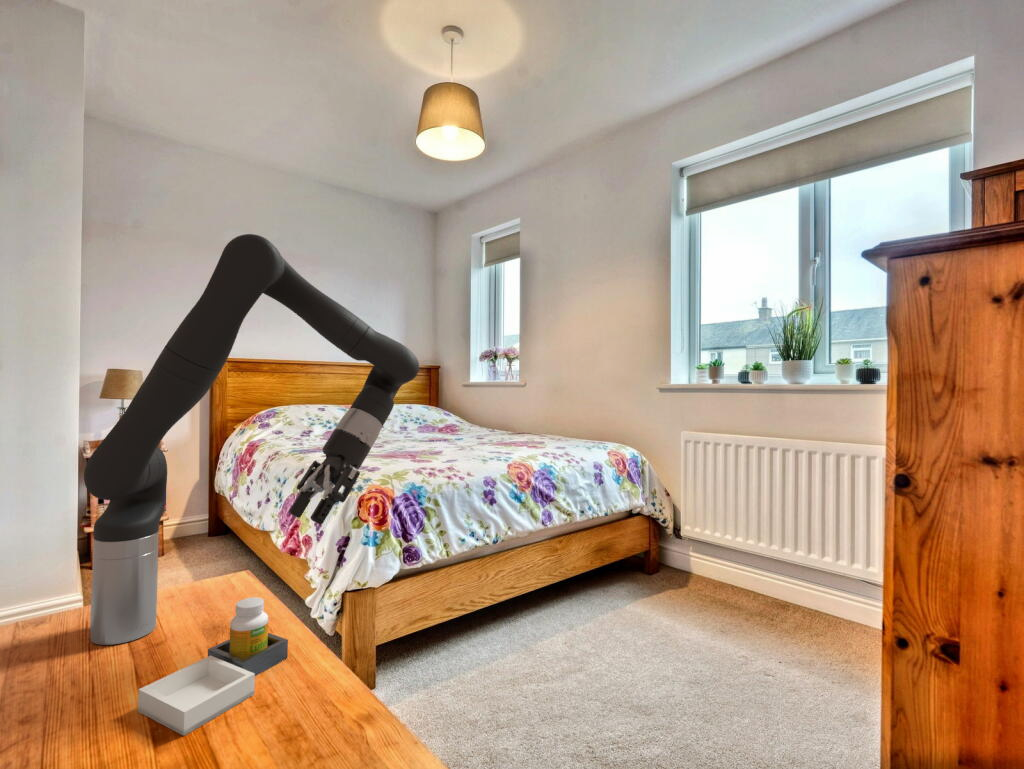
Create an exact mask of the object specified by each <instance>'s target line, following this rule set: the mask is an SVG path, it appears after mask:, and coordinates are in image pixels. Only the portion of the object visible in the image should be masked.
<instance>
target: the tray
mask: <svg viewBox="0 0 1024 769" xmlns="http://www.w3.org/2000/svg"><path fill="white" fill-rule="evenodd" d="M255 681H256V676H255V673H252V672H250V671H247V670H245V669H242V668H240V667H237V666H235V665H233V664H230V663H228V662H225V661H223V660H220V659H218V658H215V657H213V656H211V655H210V656H208V655H207V656H206V657H204V658H202V659H200V660H198V661H196V662H194V663H191V664H189V665H187V666H185V667H183V668H181V669H179V670H176V671H175V672H172V673H170V674H168V675H166V676H164V677H162V678H160V679H158V680H156V681H154V682H151V683H150V684H147V685H145V686H142V687H141V688H138V700H137V702H138V703H137V704H138V705H137V707H138V708H137V712H138V713H140V714H142V715H144V716H146V717H148V718H149V719H151V720H152V721H155V722H157V723H158V724H160V725H162V726H165V727H166V728H168V729H170V730H171V731H173V732H176V733H177V734H179V735H181V736H183V737H184V736H187V735H189V733H191V732H194V730H196V729H198V728H200V727H202V726H203V725H205V724H207V723H209V722H211V721H212V720H214V719H215V718H217V717H219V716H221V715H222V714H224V713H225V712H227V711H229V710H230V709H233V708H234V707H236V706H237V705H239V704H240V703H241V704H242V702H244V701H246V700H248V699H249V698H251V697H252V696H254V695H255V685H256V682H255Z"/></svg>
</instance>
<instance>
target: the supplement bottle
mask: <svg viewBox="0 0 1024 769" xmlns="http://www.w3.org/2000/svg"><path fill="white" fill-rule="evenodd" d="M264 608H265V601H264V599H263V598H261V597H255V596H254V597H247V598H244V599H241V600H239V601H237V602H236V604H235V616H233V618H231V620H230V628H229V639H230V652H229V654H232V655H234V656H237V657H240V658H242V659H245V658H247V657H249V656H251V655H253V654H255V653H257V652H259V651H261V650H263V649H265V648H267V643H268V633H269V616H268V614H267V613H266V611H264V610H265V609H264Z"/></svg>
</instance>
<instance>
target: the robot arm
mask: <svg viewBox="0 0 1024 769" xmlns="http://www.w3.org/2000/svg"><path fill="white" fill-rule="evenodd" d="M262 294H264V295H266V296H267V297H270V298H271V299H273V300H275V301H277V302H278V303H279V304H281V305H283V306H284V307H286V308H288V309H289V310H290V311H292V312H293V313H295V315H297V316H298V317H299V318H301V319H302V320H303V321H304V322H306V324H308V325H309V326H310V327H311V328H312V329H313V330H314V331H316V332H317V333H318V334H319V335H320V336H321V337H323V338H324V339H326V341H327V342H330V343H331V344H332V345H333V346H335V347H336V348H337V349H339V350H340V351H342V352H343V353H344V354H346V355H347V356H348V357H350V358H352V360H355V361H358V362H359V361H361V362H362V361H365V362H368V363H369V364H371V365H372V368H371V370H370V371H369V373H368V375H367V378H366V380H365V382H364V384H363V387H362V389H361V391H359V394H357V396H356V398H354V401H353V402H352V404H351V405H350V407H349V409H348V410H347V412H345V413H344V414H343V416H342V417H341V419H340V420H339V422H338V423H337V425H336V426H335V428H334V429H333V431H332V433H331V434H330V436H329V437H328V439H327V440H326V442H325V443H324V445H323V447H322V452H323V454H324V455H325V458H324V460H323V461H322V462H319V461H317V460H314V461H313V462H312V463H311V464H310V466H309V467H308V469H307V471H306V472H305V473H304V475H303V477H302V478H301V480H300V481H299V483H297V485H296V489H297V490H299V491H298V493H299V494H298V495H297V497H296V499H295V500H294V502H293V504H292V505H291V507H290V508H289V510H288V513H289V514H290V516H291V515H292V516H293V517H295V518H297V519H298V518H301V517H302V516H303V514H304V512H305V511H306V509H307V507H308V506H309V504H310V502H311V501H312V499H313V498H314V497H315V496H316V495H317V494H318V493H323V498H321V499H320V501H319V502H318V503H317V505H316V507H315V509H314V511H313V512H312V514H311V516H310V520H311V521H312V522H314V523H316V524H318V525H323V524H324V522H325V520H326V519H327V517H328V515H329V514H330V512H331V510H332V509H333V507H334V506H335V505H337V504H338V503H344V502H346V500H347V498H348V497H349V494H350V493H351V491H352V489H353V488H354V485H355V483H356V482H357V480H358V478H359V476H360V475H361V471H360V470H359V469H360V468H361V467H362V465H363V464H364V462H365V460H366V458H367V456H369V453H370V452H371V450H372V448H373V446H374V444H375V442H376V441H377V439H378V437H379V435H380V433H381V431H382V428H383V426H384V425H385V423H386V421H387V420H388V418H389V417H390V414H391V413H392V411H393V408H394V405H395V401H394V399H395V397H396V395H397V393H398V391H399V390H400V389H401V387H402V386H403V385H405V384H407V383H410V382H411V381H412V380H414V379H415V378H416V377H417V376H418V374H419V372H420V362H419V360H418V358H417V356H416V355H415V354H414V352H413V351H412V350H411V349H409V348H408V347H407V346H406V345H404V344H402V343H400V342H399V341H396V340H395V339H393V338H391V337H389V336H387V335H385V334H384V333H383V334H382V333H381V332H378V331H377V330H375V329H374V328H372V326H370V325H369V324H368V323H366V322H365V321H364V320H362V319H361V318H360V317H358V316H357V315H356V314H355V313H353V312H352V311H350V310H349V309H348V308H346V307H345V306H343V305H342V304H340V303H339V302H337V301H336V300H334V299H332V297H329V296H328V295H326V294H325V293H323V292H322V291H321V290H319V289H318V288H317V287H315V286H314V285H313V284H312V283H311V282H309V281H308V280H306V278H304V277H303V276H302V275H301V274H300V273H299V272H298V271H296V269H295V268H294V267H292V265H290V264H289V262H287V260H286V259H285V258H284V257H283V255H281V253H280V251H279V249H278V248H277V247H276V246H275V245H274V243H272V241H270V240H269V239H267V238H265V237H263V236H262V235H259V234H253V233H246V234H240V235H238V236H236V237H234V238H232V239H231V240H230V241H228V243H227V244H226V245H225V246H224V248H223V251H222V253H221V255H220V257H219V259H218V261H217V264H216V266H215V267H214V270H213V272H212V275H211V277H210V279H209V281H208V283H207V284H206V287H205V289H204V291H203V292H202V294H201V296H200V297H199V299H198V300H197V301H196V303H195V305H194V306H193V307H192V308H191V309H190V310H189V312H188V313H187V314H186V316H185V317H184V319H183V320H182V321H181V323H180V324H179V326H178V327H177V328H176V330H175V331H174V332H173V334H172V336H171V337H170V339H169V340H168V341H167V343H166V345H165V346H164V347H163V349H162V351H161V352H160V354H159V355H158V357H157V358H156V360H155V362H154V364H153V365H152V367H151V369H150V371H149V372H148V374H147V376H146V377H145V379H144V380H143V382H142V384H141V385H140V387H139V388H138V390H137V391H136V393H135V395H134V396H133V398H132V399H131V402H130V403H129V405H128V406H127V408H126V410H125V411H124V413H123V414H122V415H121V417H120V418H119V420H118V421H117V422H116V423H115V425H114V426H113V427H112V429H111V430H109V432H108V434H107V435H106V436H105V437H104V438H103V440H102V441H101V442H100V443H99V444H98V446H97V447H96V449H95V450H94V451H93V452H92V453H91V455H90V456H89V458H88V460H87V461H86V464H85V466H84V470H83V481H84V486H85V488H86V490H87V491H88V492H89V494H90V495H92V496H93V497H94V498H96V499H100V500H103V501H109V502H108V504H107V507H106V508H105V510H104V511H103V513H102V514H101V515H100V516H99V517H98V518H97V519H96V520H95V522H94V524H93V531H92V532H93V539H92V540H93V541H92V544H93V545H92V568H91V569H92V574H91V575H92V577H91V578H92V579H91V586H90V587H91V591H90V592H91V594H90V621H89V622H90V623H89V626H90V627H89V628H90V629H89V633H90V641H91V643H92V644H96V645H102V646H103V645H104V646H109V645H111V646H112V645H117V644H123V643H128V642H132V641H136V640H137V639H141V638H142V637H145V636H146V635H149V634H150V633H152V632H153V631H154V630H155V629H156V627H157V612H158V610H157V606H158V605H157V604H158V579H159V578H158V575H159V574H158V572H159V570H158V568H159V567H158V566H159V537H160V536H159V534H160V532H159V531H160V522H161V519H162V517H163V514H164V512H165V506H166V500H167V499H166V498H167V497H166V496H167V495H166V494H167V486H168V485H167V483H168V463H167V458H166V456H165V453H164V452H163V450H162V449H161V448H160V447H159V444H160V443H161V442H162V440H163V439H164V437H165V436H166V434H167V433H168V432H169V431H170V430H171V428H173V427H174V425H176V424H177V422H179V421H180V420H181V419H182V418H183V417H184V416H185V415H187V414H188V413H189V412H190V411H191V410H192V409H193V408H194V407H195V406H196V405H197V404H199V402H200V401H201V400H202V399H203V397H205V395H206V394H207V393H208V391H209V390H210V389H211V388H212V386H213V384H214V383H215V381H216V379H217V378H218V376H219V374H220V373H221V371H222V369H224V366H225V364H226V362H227V360H228V358H229V356H230V354H231V352H232V350H233V347H234V344H235V342H236V339H237V336H238V333H239V332H240V329H241V326H242V324H243V322H244V320H245V318H246V316H247V315H248V313H250V311H251V309H252V308H253V307H254V305H255V304H256V302H257V301H258V300H259V299H260V297H261V296H262Z"/></svg>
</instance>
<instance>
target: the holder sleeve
mask: <svg viewBox="0 0 1024 769" xmlns="http://www.w3.org/2000/svg"><path fill="white" fill-rule="evenodd" d="M288 646H289V639H287V638H284V637H282V636H278V635H275V634H272V633H270V632H268V643H267V648H265V649H263V650H261V651H259V652H257V653H255V654H253V655H251V656H249V657H247V658H245V659H242V658H240V657H237V656H234V655H232V654H229V652H230V638H229V639H227V640H225V641H222V642H221V643H217V645H213V646H211V647H210V648H207V657H208V656H210V655H211V656H213V657H215V658H218V659H220V660H223V661H225V662H228V663H230V664H233V665H235V666H237V667H240V668H242V669H245V670H247V671H250V672H252V673H255V677H256V676H258V675H260V674H262V673H264V672H266V671H267V670H268V669H271V668H273V667H274V666H276V665H278V664H280V663H282V662H283V661H285V660H286V659H285V658H287V659H288V651H289V647H288ZM284 659H285V660H284ZM282 660H283V661H282ZM279 662H280V663H279Z"/></svg>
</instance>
